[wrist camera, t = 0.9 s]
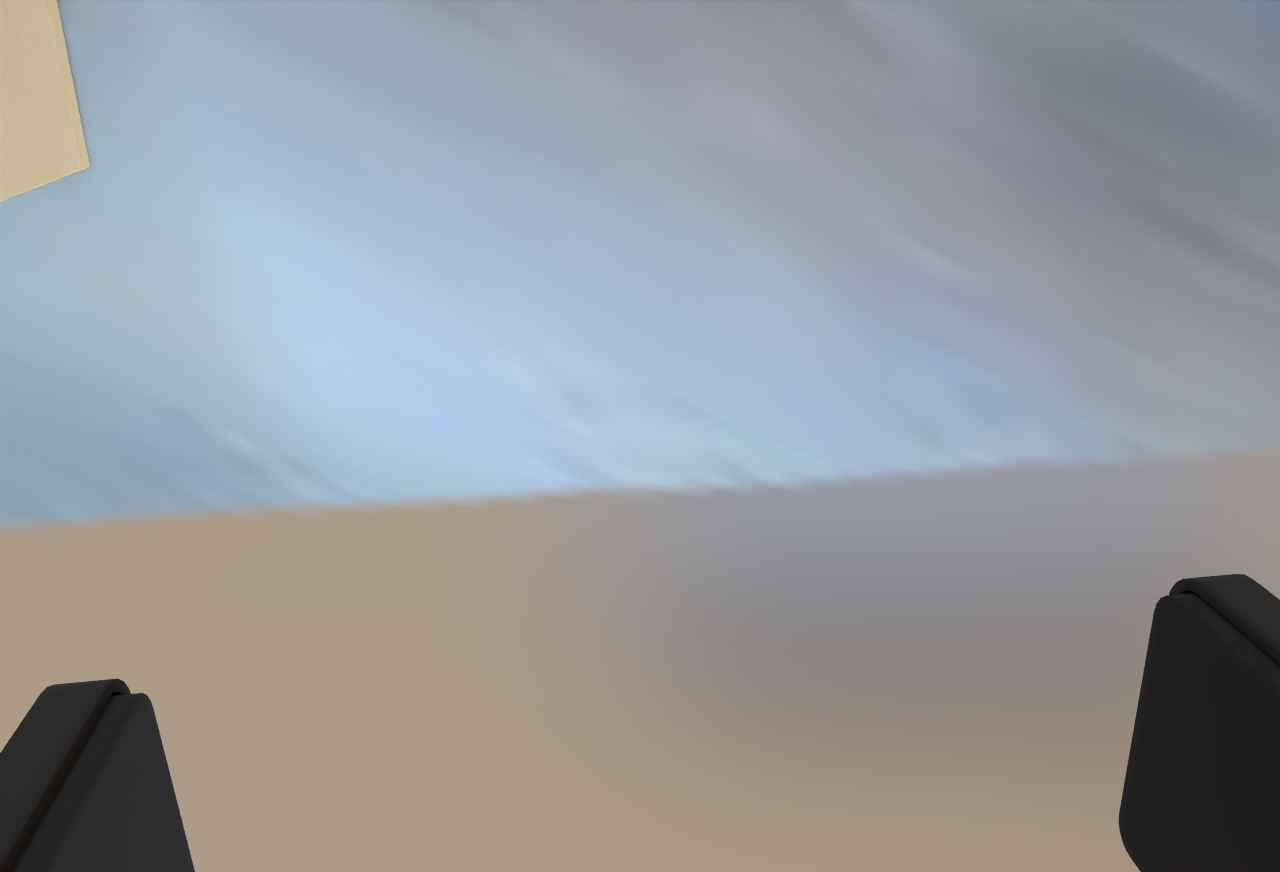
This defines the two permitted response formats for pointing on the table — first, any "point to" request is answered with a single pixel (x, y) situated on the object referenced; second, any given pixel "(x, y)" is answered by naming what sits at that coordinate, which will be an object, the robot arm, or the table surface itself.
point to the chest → (36, 100)
